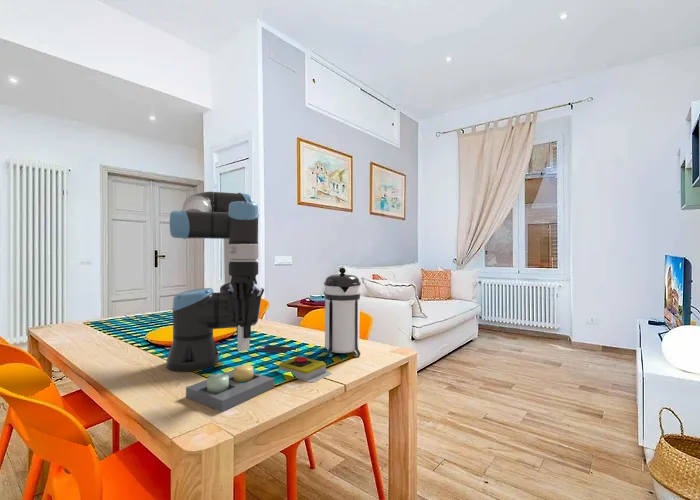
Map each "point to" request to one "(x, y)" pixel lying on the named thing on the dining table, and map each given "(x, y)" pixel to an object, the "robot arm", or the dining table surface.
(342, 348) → the coffee press
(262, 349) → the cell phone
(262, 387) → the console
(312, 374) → the emergency button
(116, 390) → the dining table surface
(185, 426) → the dining table surface
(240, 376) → the tan button
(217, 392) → the sage button
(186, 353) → the robot arm
